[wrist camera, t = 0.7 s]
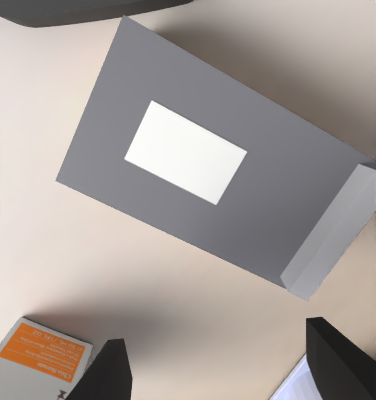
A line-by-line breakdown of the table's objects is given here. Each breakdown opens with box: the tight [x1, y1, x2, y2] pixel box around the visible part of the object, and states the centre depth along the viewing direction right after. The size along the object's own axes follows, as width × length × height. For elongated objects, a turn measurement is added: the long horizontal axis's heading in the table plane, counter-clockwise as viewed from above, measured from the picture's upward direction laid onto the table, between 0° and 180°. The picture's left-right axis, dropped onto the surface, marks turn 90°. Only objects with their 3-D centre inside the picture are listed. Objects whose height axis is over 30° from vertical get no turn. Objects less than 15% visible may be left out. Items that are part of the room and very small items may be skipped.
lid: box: [56, 15, 376, 301], centre depth 15 cm, size 14×8×2 cm, turn 62°
